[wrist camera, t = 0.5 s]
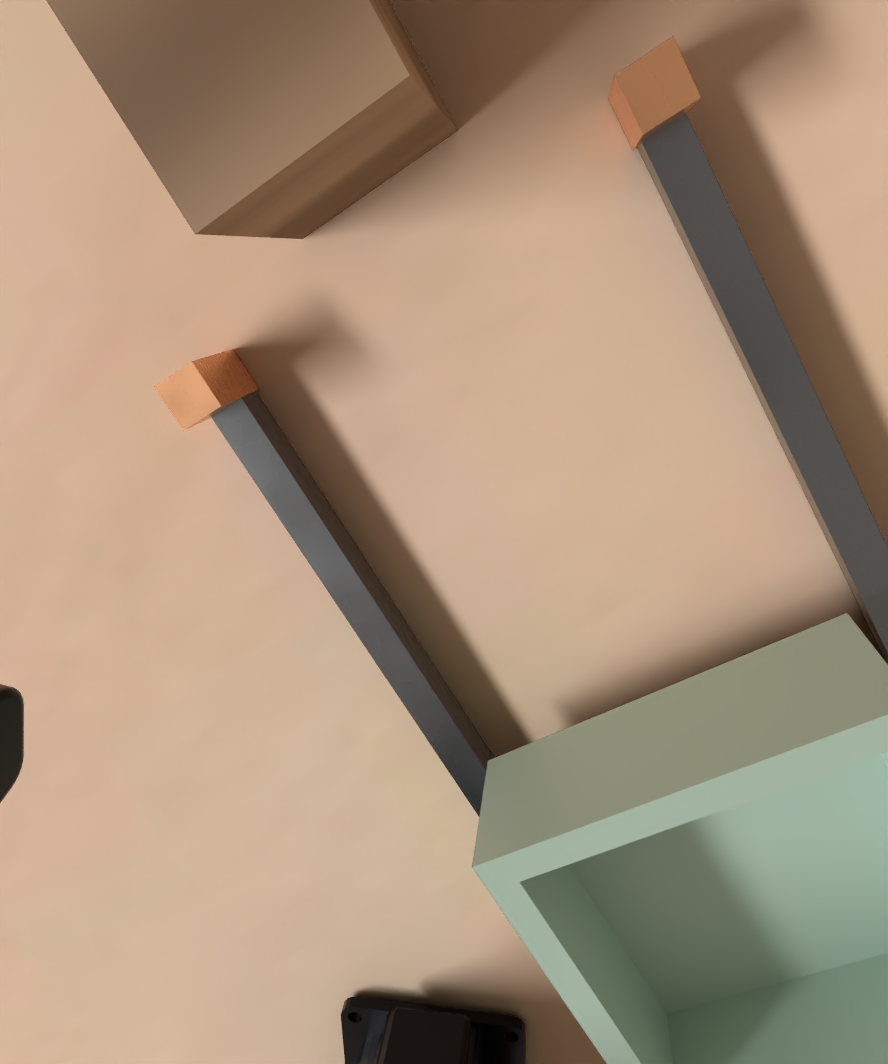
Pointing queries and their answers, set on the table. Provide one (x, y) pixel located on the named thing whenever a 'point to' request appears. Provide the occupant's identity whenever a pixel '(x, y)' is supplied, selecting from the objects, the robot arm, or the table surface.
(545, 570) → the table surface
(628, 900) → the sage green storage bin
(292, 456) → the rails
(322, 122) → the walnut block
